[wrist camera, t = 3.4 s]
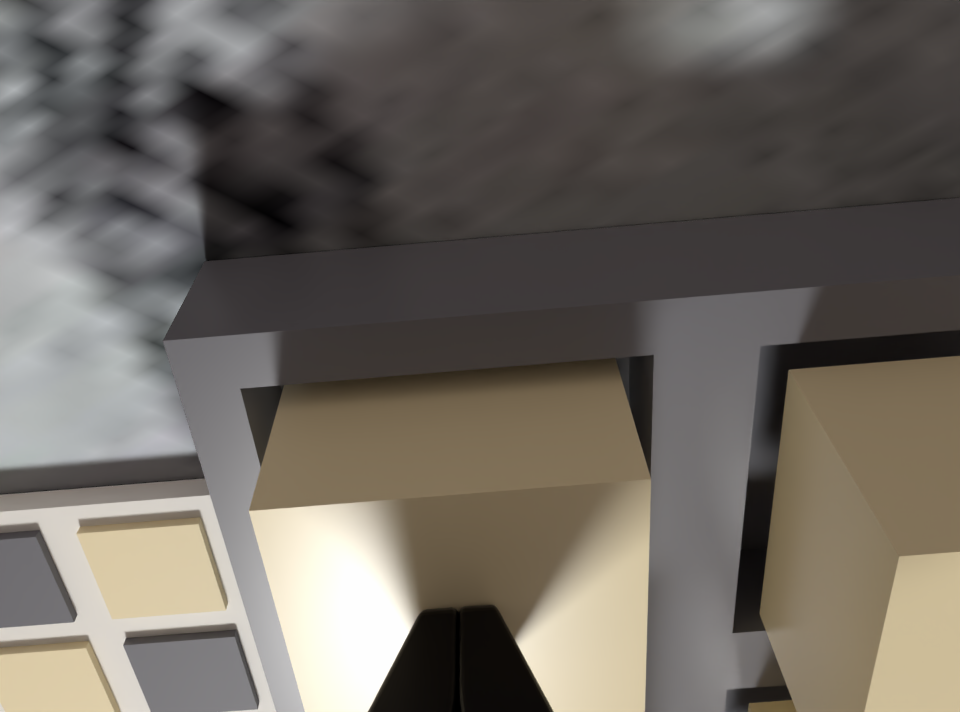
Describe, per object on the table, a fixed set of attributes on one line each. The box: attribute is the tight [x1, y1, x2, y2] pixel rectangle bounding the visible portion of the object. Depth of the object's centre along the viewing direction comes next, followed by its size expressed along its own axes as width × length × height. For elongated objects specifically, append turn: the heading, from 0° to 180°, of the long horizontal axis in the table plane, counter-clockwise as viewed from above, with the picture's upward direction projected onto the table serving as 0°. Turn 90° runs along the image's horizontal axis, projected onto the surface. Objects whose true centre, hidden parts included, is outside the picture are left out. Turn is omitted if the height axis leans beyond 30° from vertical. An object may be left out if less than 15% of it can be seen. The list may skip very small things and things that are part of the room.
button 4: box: [249, 358, 651, 712], centre depth 11 cm, size 4×4×3 cm
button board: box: [163, 198, 960, 712], centre depth 14 cm, size 12×12×2 cm
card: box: [0, 478, 276, 712], centre depth 15 cm, size 5×5×1 cm
